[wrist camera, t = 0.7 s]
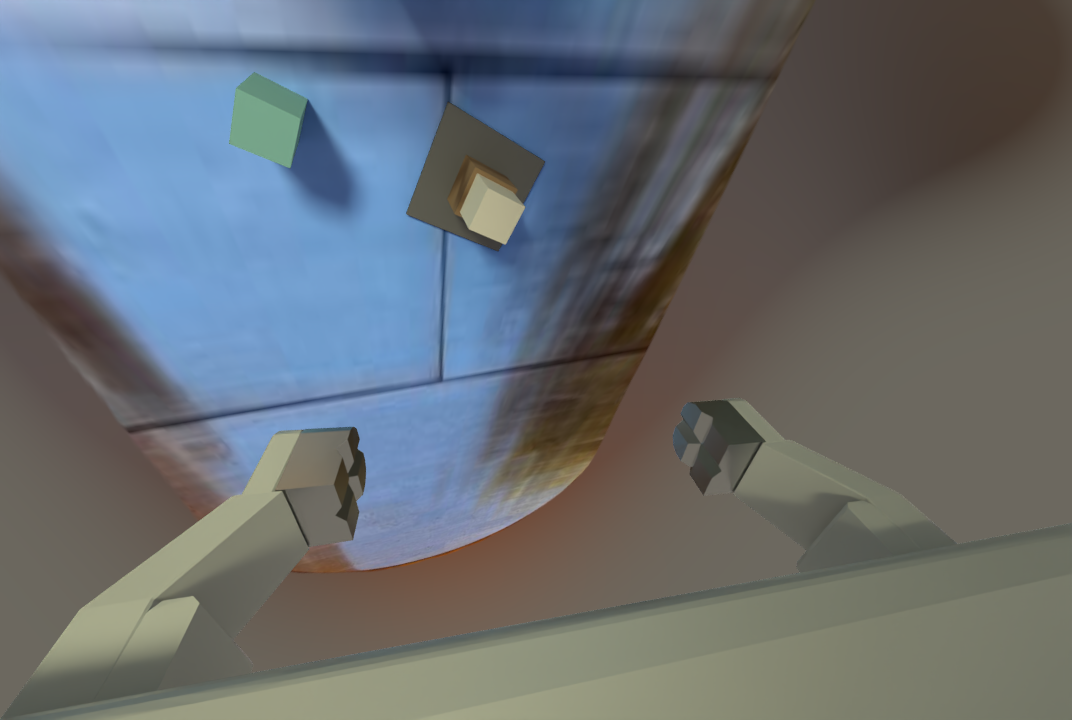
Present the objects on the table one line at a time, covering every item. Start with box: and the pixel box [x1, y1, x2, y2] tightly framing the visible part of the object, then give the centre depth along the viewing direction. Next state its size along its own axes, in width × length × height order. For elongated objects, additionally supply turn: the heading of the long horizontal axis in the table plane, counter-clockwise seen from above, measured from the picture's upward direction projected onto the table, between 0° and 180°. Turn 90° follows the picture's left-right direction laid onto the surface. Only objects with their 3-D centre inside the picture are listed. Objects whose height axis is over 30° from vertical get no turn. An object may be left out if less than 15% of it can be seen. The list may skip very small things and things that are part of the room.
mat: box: [406, 102, 545, 251], centre depth 50 cm, size 14×14×1 cm
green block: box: [229, 72, 308, 168], centre depth 36 cm, size 4×4×9 cm
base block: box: [447, 155, 518, 218], centre depth 49 cm, size 6×6×5 cm
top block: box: [460, 173, 525, 245], centre depth 45 cm, size 5×5×5 cm
